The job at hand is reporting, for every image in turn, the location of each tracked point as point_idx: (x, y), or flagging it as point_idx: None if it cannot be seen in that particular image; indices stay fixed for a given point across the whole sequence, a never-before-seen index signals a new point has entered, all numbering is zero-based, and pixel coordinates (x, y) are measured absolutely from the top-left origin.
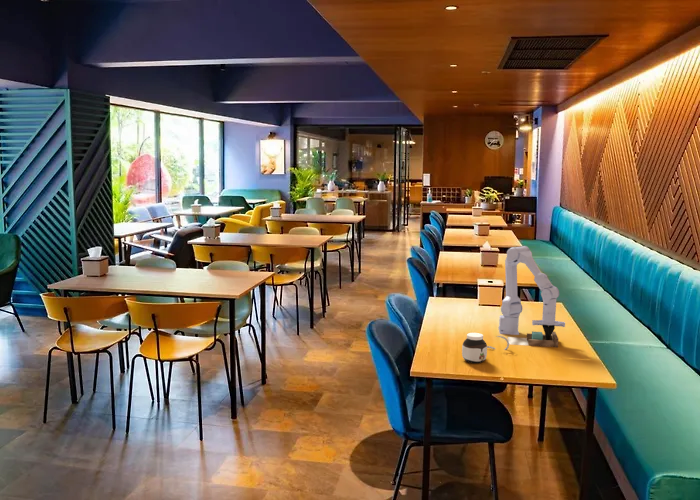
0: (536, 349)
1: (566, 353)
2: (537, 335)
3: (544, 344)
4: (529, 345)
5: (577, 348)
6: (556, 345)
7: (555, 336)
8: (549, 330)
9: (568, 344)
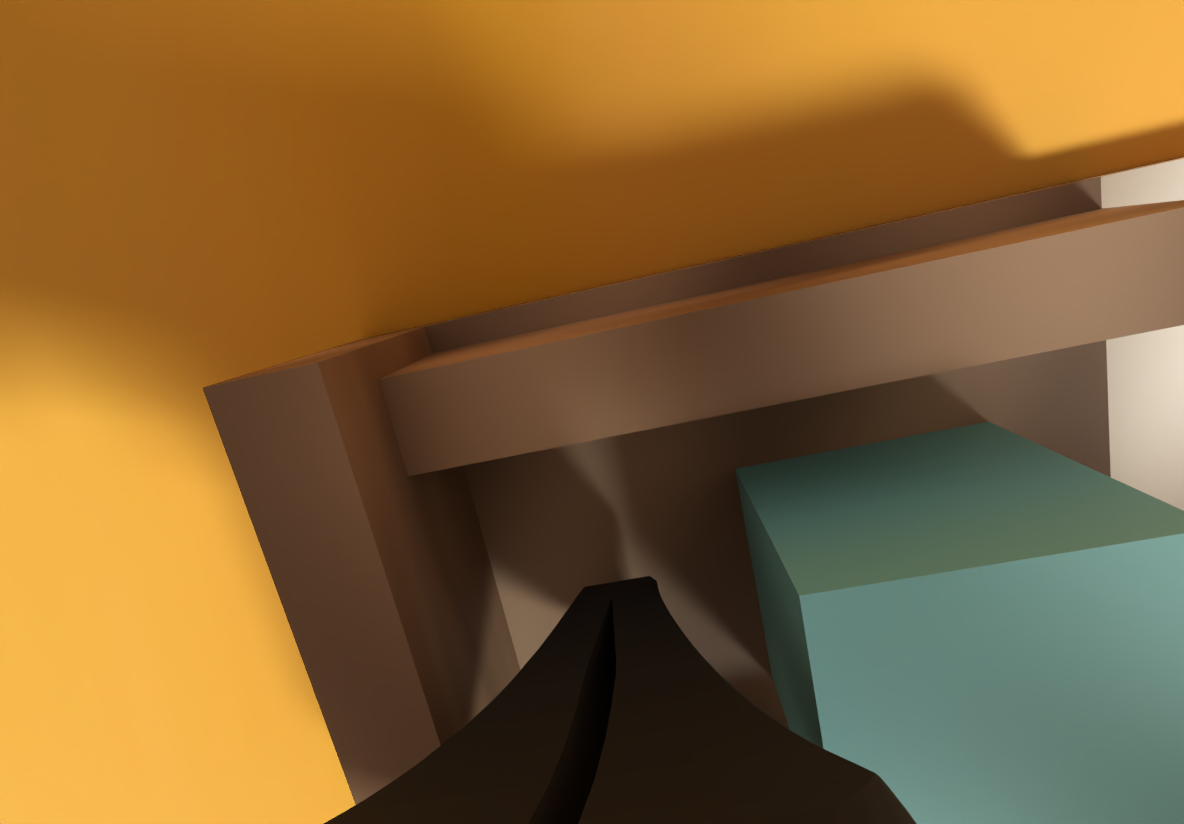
0: (858, 12)
1: (97, 5)
2: (990, 537)
3: (676, 305)
4: (1076, 183)
5: (7, 525)
6: (365, 342)
7: (360, 640)
8: (537, 780)
9: (229, 720)
